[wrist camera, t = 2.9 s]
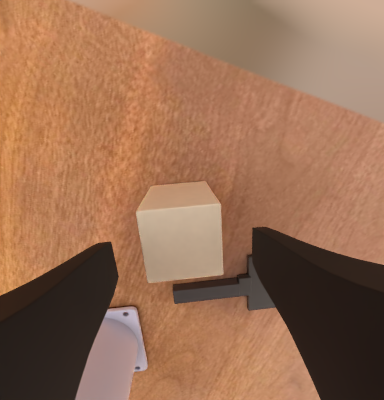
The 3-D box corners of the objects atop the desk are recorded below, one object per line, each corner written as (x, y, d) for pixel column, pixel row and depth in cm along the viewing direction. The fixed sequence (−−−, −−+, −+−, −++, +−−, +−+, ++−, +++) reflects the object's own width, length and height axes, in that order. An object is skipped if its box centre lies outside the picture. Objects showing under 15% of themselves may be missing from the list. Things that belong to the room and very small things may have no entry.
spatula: (177, 315, 20) (176, 323, 19) (170, 263, 18) (170, 269, 17) (301, 301, 20) (307, 308, 19) (307, 248, 19) (313, 253, 18)
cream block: (157, 235, 17) (147, 283, 11) (150, 185, 16) (134, 211, 10) (208, 230, 17) (223, 275, 12) (205, 180, 16) (221, 203, 10)
